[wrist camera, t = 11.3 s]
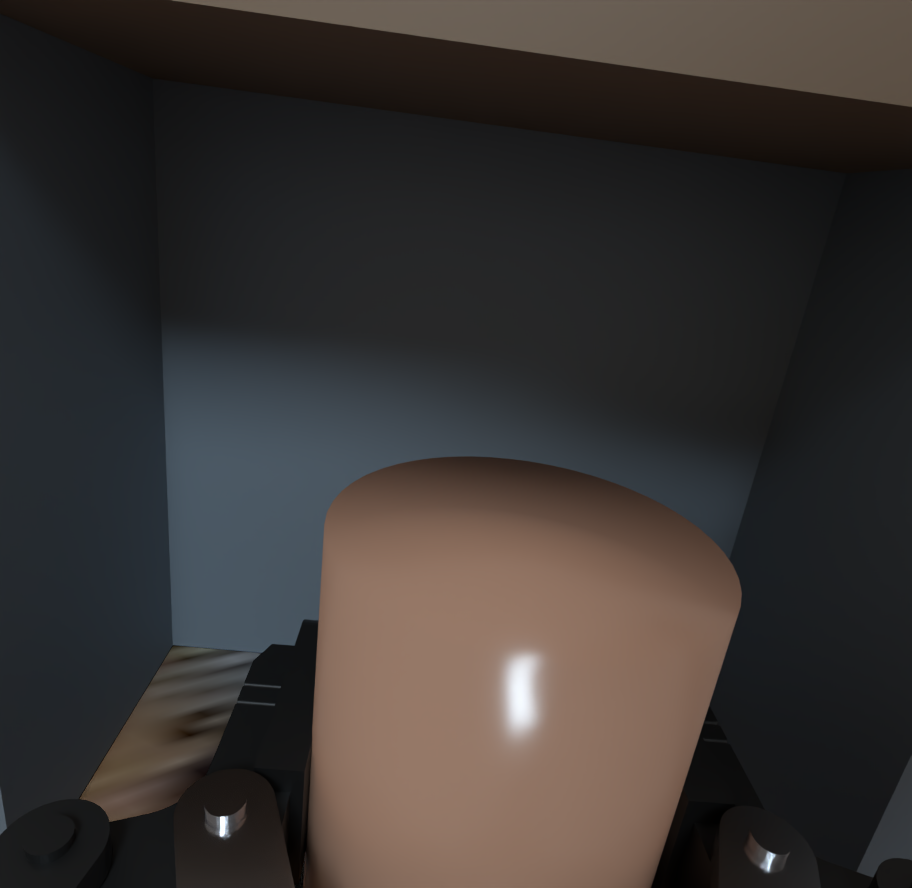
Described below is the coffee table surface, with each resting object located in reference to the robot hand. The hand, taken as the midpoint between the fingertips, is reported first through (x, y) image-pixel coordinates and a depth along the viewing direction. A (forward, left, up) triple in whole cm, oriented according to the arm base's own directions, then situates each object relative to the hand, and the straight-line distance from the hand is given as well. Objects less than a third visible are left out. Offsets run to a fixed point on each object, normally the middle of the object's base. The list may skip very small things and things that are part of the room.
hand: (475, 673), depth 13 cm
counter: (0, -5, -7) cm, 9 cm away
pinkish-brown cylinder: (0, +3, -6) cm, 7 cm away
